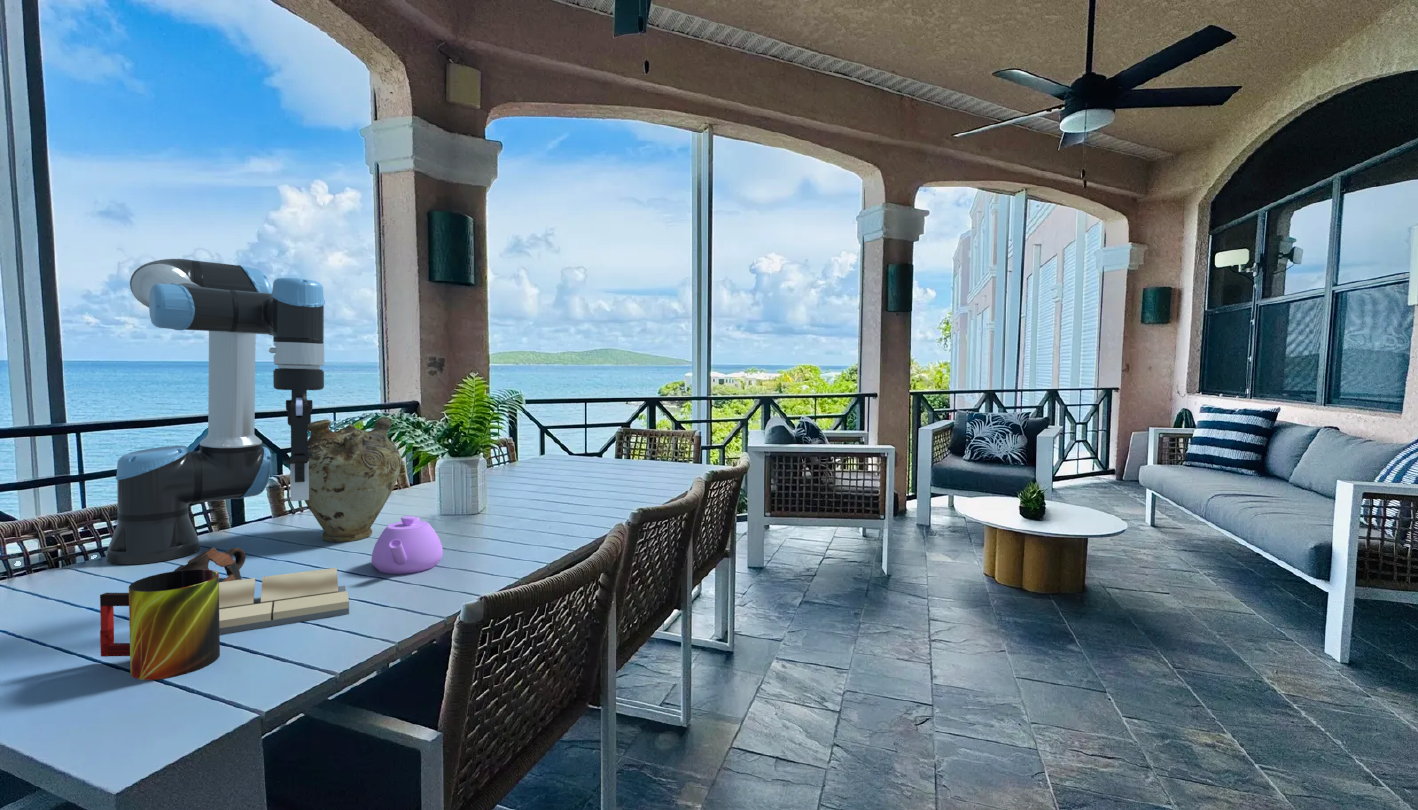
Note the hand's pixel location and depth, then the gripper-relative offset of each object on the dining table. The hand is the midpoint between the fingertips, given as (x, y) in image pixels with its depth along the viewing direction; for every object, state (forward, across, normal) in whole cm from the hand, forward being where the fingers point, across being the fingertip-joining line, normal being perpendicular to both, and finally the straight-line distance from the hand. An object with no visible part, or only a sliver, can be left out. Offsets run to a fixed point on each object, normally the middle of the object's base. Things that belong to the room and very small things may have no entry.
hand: (299, 496), depth 112 cm
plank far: (+16, +1, 0) cm, 17 cm away
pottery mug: (+19, -17, -14) cm, 29 cm away
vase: (+19, -44, +10) cm, 49 cm away
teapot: (+19, -12, +19) cm, 30 cm away
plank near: (+16, +1, -12) cm, 21 cm away
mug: (+19, +20, -17) cm, 32 cm away
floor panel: (+19, +4, -6) cm, 20 cm away
